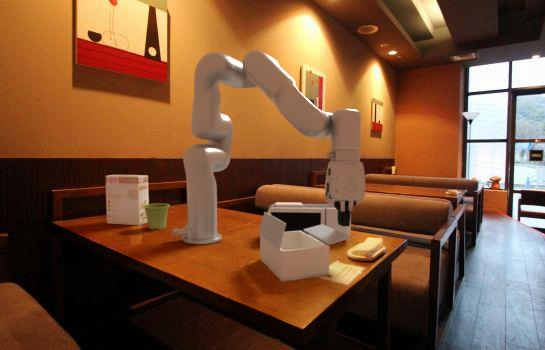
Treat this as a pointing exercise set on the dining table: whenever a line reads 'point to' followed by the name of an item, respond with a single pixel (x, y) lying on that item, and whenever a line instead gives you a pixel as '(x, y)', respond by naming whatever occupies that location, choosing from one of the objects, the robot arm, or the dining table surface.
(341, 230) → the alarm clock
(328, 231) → the far flap
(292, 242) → the carton
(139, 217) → the coffeecake box
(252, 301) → the dining table surface
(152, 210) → the plant pot
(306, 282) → the dining table surface
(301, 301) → the dining table surface
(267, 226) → the near flap
